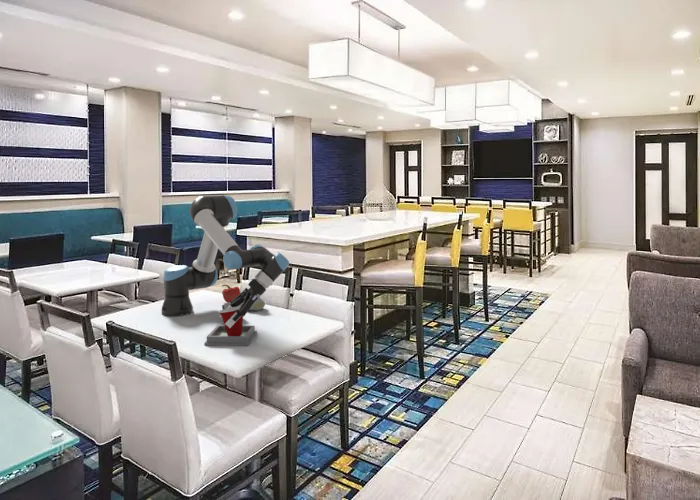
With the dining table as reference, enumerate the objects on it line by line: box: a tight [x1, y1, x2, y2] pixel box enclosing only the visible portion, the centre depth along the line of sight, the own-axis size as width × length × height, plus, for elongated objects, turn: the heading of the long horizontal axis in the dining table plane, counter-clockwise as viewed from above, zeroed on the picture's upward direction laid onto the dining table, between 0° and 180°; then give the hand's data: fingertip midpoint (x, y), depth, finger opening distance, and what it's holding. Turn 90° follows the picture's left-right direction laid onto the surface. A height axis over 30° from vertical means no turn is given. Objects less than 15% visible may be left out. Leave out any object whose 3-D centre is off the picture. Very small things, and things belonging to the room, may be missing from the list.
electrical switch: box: [221, 302, 242, 310], centre depth 240 cm, size 9×5×9 cm, turn 141°
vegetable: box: [221, 284, 241, 303], centre depth 273 cm, size 11×10×10 cm
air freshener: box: [248, 294, 266, 312], centre depth 259 cm, size 11×8×10 cm
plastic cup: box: [218, 306, 244, 336], centre depth 209 cm, size 11×11×12 cm
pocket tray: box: [203, 324, 258, 347], centre depth 211 cm, size 18×18×4 cm
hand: (224, 322), depth 209 cm, fingers open, 11 cm apart
